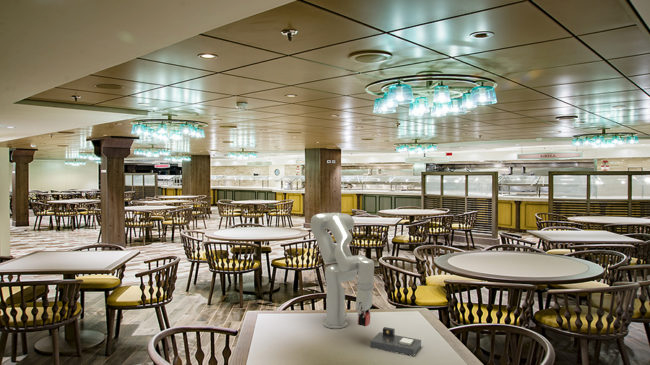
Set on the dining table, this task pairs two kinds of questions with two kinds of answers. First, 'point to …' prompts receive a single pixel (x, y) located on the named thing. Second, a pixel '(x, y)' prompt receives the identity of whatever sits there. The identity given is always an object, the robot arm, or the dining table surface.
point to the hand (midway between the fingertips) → (363, 323)
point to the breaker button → (406, 341)
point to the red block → (366, 319)
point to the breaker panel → (393, 342)
